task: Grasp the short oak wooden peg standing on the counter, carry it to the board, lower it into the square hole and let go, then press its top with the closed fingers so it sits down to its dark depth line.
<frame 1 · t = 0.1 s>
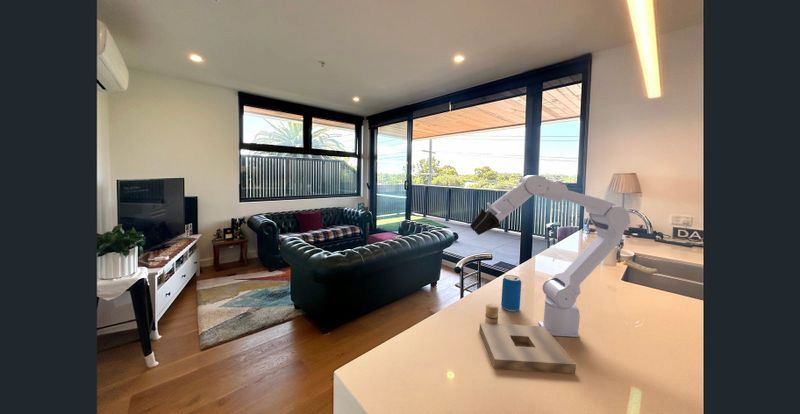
hand: (473, 230, 89), 32 cm above the counter, tool tilted 50°, fingers open, 7 cm apart
hole board: (521, 349, 80), on the counter
beverage can: (510, 308, 105), on the counter
oak peg: (491, 323, 94), on the counter
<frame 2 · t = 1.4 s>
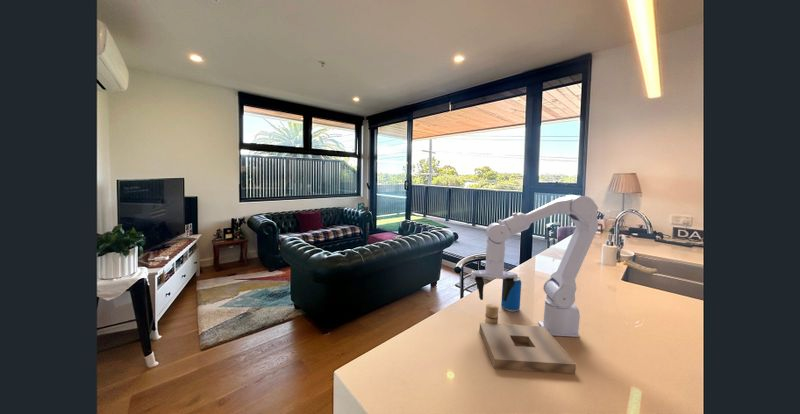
hand: (492, 299, 93), 8 cm above the counter, tool pointing down, fingers open, 7 cm apart
nothing on the counter moved.
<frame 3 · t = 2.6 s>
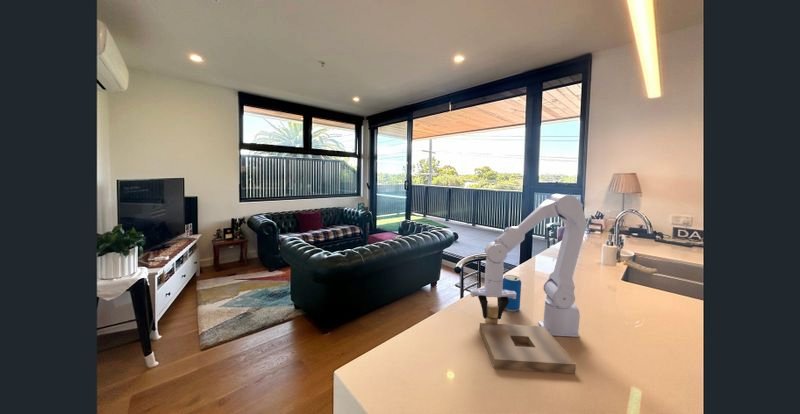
hand: (491, 317, 94), 2 cm above the counter, tool pointing down, fingers closed on oak peg, 4 cm apart
oak peg: (491, 323, 94), on the counter, touching gripper
everything else where it was.
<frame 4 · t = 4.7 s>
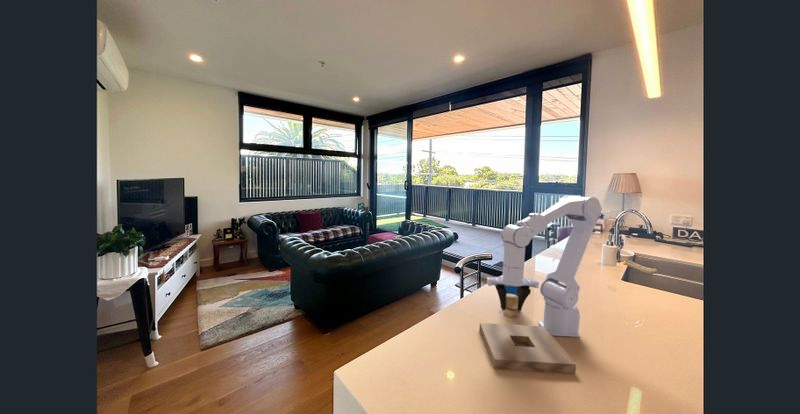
hand: (510, 309, 84), 9 cm above the counter, tool pointing down, fingers closed on oak peg, 4 cm apart
oak peg: (510, 315, 85), point 7 cm above the counter, touching gripper
everything else where it was.
when the fingers open (4 cm above the counter, at t = 7.0 s): oak peg drops 2 cm, resting in hole board.
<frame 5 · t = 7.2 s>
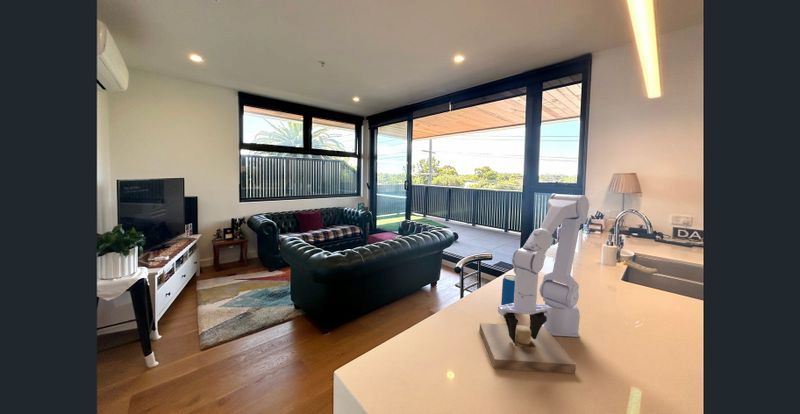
hand: (522, 337, 79), 4 cm above the counter, tool pointing down, fingers open, 6 cm apart
oak peg: (521, 349, 80), resting in hole board
everything else where it was.
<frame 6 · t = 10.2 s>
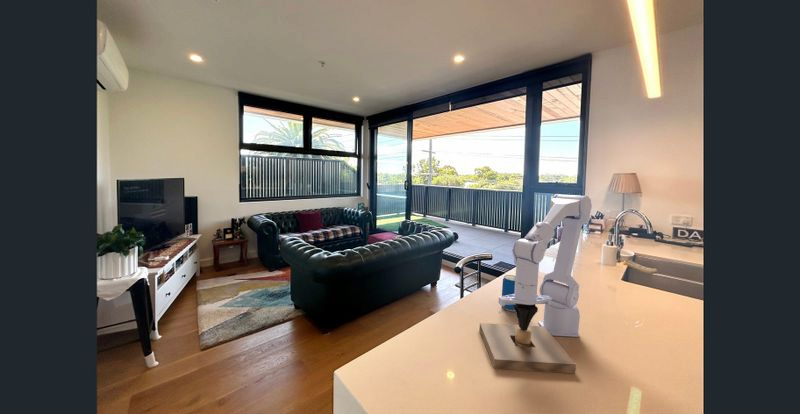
hand: (523, 328, 79), 6 cm above the counter, tool pointing down, fingers closed
nothing on the counter moved.
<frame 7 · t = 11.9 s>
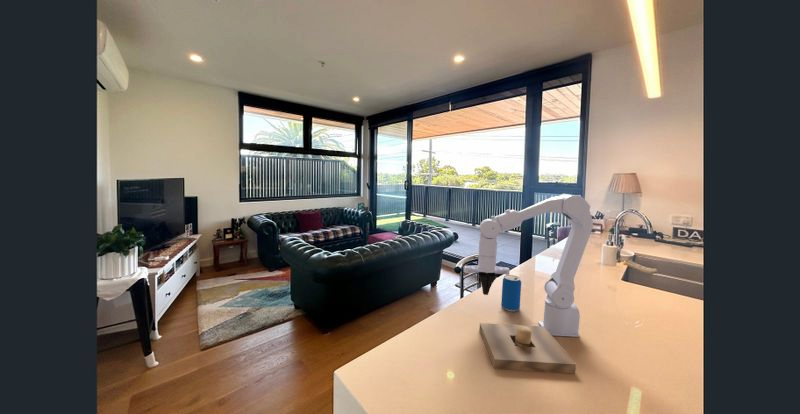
hand: (485, 293, 95), 9 cm above the counter, tool pointing down, fingers closed
nothing on the counter moved.
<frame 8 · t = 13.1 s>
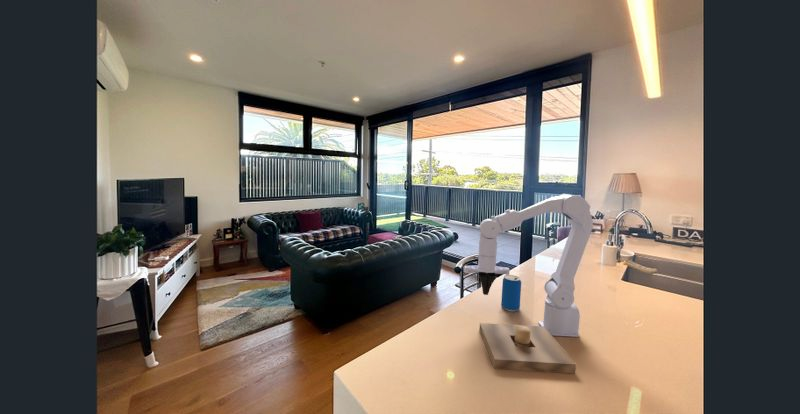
hand: (485, 293, 95), 9 cm above the counter, tool pointing down, fingers closed
nothing on the counter moved.
at the end: oak peg 0.1 cm off-centre on the hole board, point 0.0 cm above the hole board's base; oak peg tilted 2°; the gripper is holding nothing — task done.
